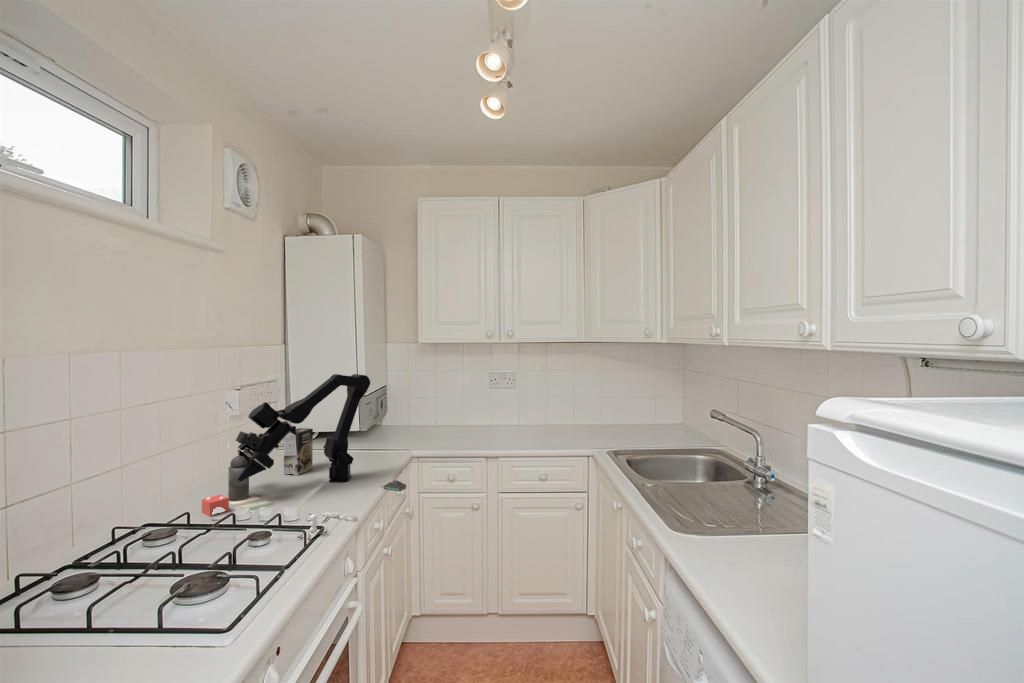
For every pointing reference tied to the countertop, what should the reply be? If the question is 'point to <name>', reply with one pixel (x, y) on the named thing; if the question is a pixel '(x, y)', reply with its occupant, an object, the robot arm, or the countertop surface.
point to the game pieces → (390, 486)
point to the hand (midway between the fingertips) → (234, 477)
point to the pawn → (235, 487)
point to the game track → (252, 501)
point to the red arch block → (214, 504)
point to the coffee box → (298, 451)
